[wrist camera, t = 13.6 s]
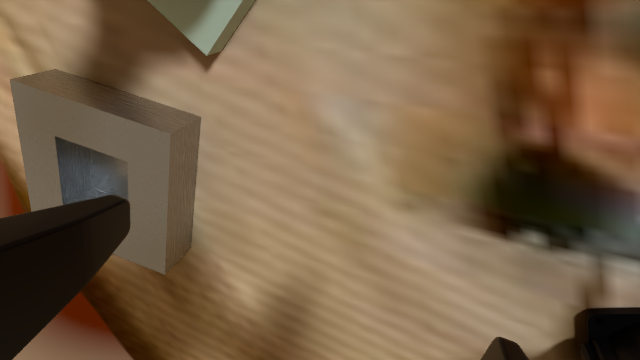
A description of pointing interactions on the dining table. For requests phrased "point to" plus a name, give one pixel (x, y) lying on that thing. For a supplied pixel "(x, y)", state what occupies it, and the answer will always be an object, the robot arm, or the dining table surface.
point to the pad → (205, 20)
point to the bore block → (111, 158)
